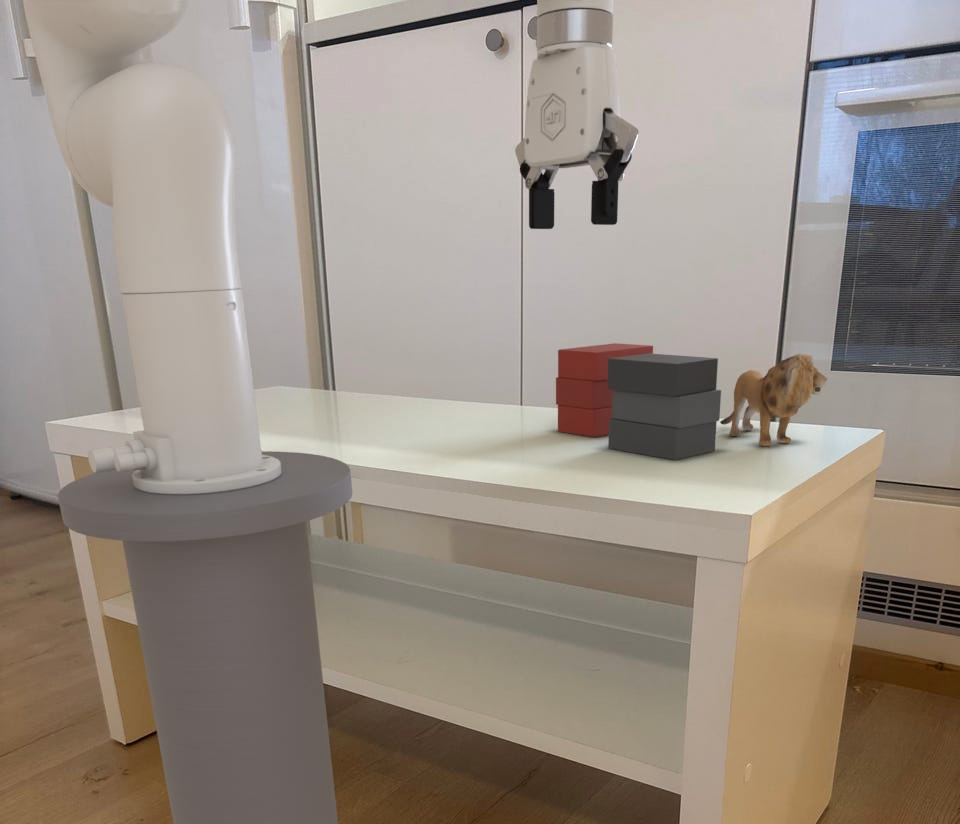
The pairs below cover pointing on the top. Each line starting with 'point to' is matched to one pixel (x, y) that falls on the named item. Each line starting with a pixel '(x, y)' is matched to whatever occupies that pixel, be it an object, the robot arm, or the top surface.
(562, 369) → the red rectangular block
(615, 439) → the grey blocks
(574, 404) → the red blocks
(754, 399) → the lion figurine
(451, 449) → the top surface
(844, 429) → the top surface
